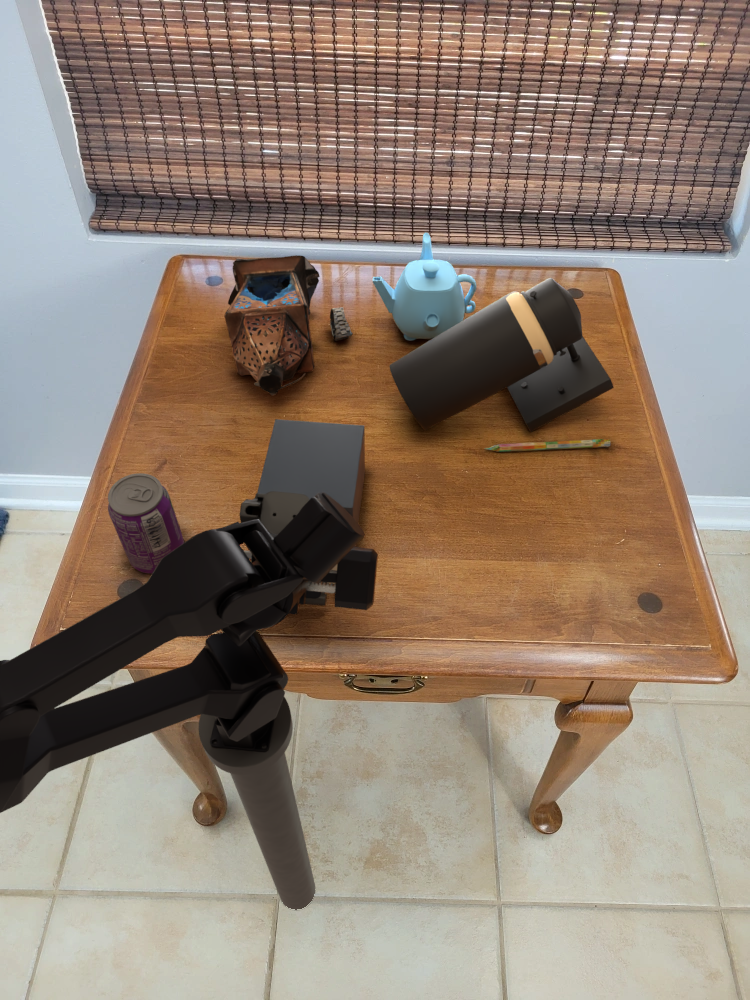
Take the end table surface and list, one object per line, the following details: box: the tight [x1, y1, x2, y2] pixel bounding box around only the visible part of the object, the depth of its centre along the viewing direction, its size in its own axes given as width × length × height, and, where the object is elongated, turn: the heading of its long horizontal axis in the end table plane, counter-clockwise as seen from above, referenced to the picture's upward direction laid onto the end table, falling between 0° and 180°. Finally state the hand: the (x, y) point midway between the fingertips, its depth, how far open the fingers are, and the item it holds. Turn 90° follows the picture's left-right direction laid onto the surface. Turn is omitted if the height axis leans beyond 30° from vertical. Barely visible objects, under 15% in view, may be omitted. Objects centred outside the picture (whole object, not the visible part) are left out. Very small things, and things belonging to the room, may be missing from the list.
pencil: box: [483, 438, 612, 453], centre depth 109 cm, size 1×1×18 cm
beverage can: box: [107, 472, 185, 574], centre depth 93 cm, size 7×7×12 cm
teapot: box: [372, 232, 477, 342], centre depth 122 cm, size 15×14×11 cm
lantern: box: [223, 255, 320, 396], centre depth 116 cm, size 16×16×25 cm
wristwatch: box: [329, 306, 353, 342], centre depth 123 cm, size 3×5×5 cm
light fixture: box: [388, 277, 615, 433], centre depth 108 cm, size 13×18×26 cm
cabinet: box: [256, 418, 366, 547], centre depth 98 cm, size 14×12×10 cm
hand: (300, 557), depth 89 cm, fingers closed
